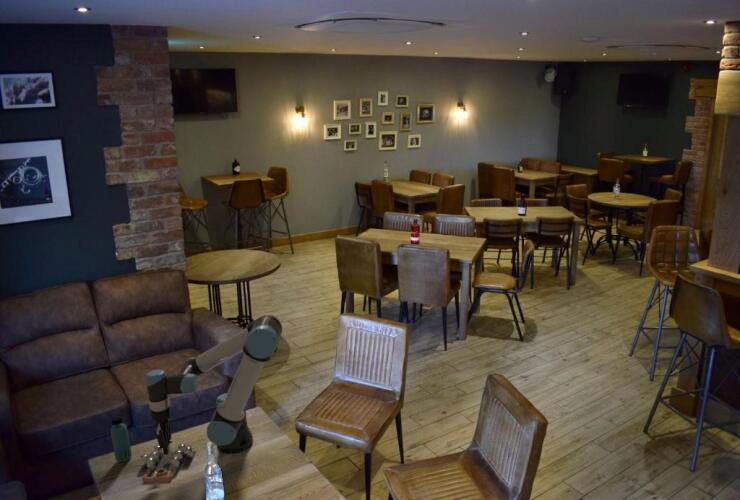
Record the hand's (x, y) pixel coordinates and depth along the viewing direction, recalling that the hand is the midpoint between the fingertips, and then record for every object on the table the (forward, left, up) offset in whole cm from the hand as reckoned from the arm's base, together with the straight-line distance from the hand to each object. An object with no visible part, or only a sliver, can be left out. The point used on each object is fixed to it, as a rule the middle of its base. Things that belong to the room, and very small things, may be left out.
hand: (168, 459), depth 239 cm
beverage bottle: (+20, -4, -3) cm, 21 cm away
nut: (0, +9, -2) cm, 9 cm away
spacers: (0, 0, -1) cm, 1 cm away
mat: (0, -1, -2) cm, 3 cm away
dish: (0, +9, -2) cm, 10 cm away
